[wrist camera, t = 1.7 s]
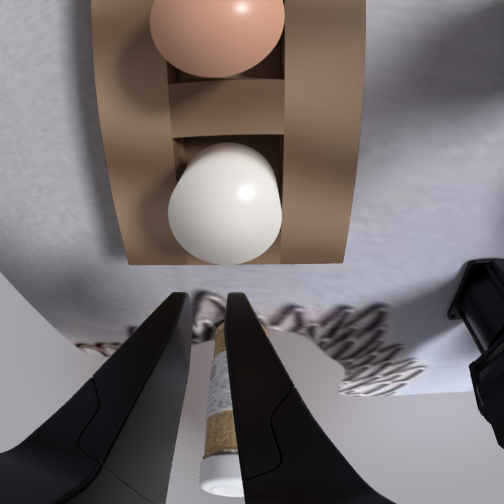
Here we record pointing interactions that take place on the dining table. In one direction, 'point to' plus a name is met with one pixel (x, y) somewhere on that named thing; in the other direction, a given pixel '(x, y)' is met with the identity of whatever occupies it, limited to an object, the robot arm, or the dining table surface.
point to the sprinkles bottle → (221, 430)
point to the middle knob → (216, 33)
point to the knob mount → (234, 125)
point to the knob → (226, 205)
